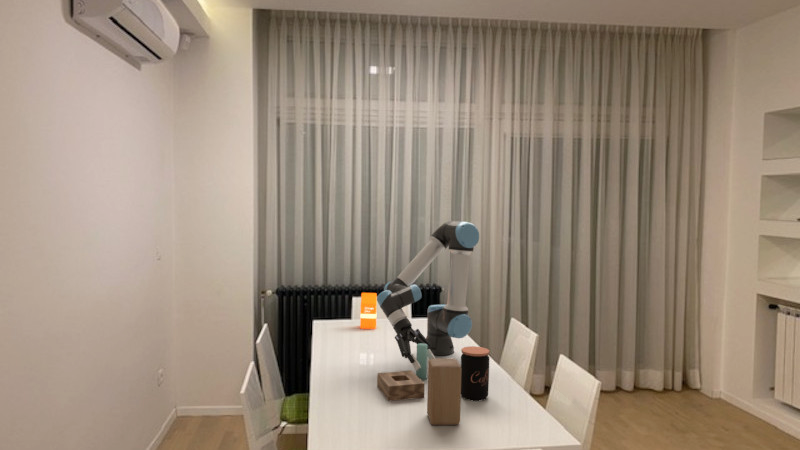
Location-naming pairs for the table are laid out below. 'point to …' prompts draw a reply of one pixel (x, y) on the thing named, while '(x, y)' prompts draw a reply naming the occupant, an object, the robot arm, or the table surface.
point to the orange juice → (368, 311)
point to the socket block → (400, 385)
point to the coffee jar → (474, 373)
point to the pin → (422, 360)
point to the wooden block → (444, 391)
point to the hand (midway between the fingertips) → (427, 366)
